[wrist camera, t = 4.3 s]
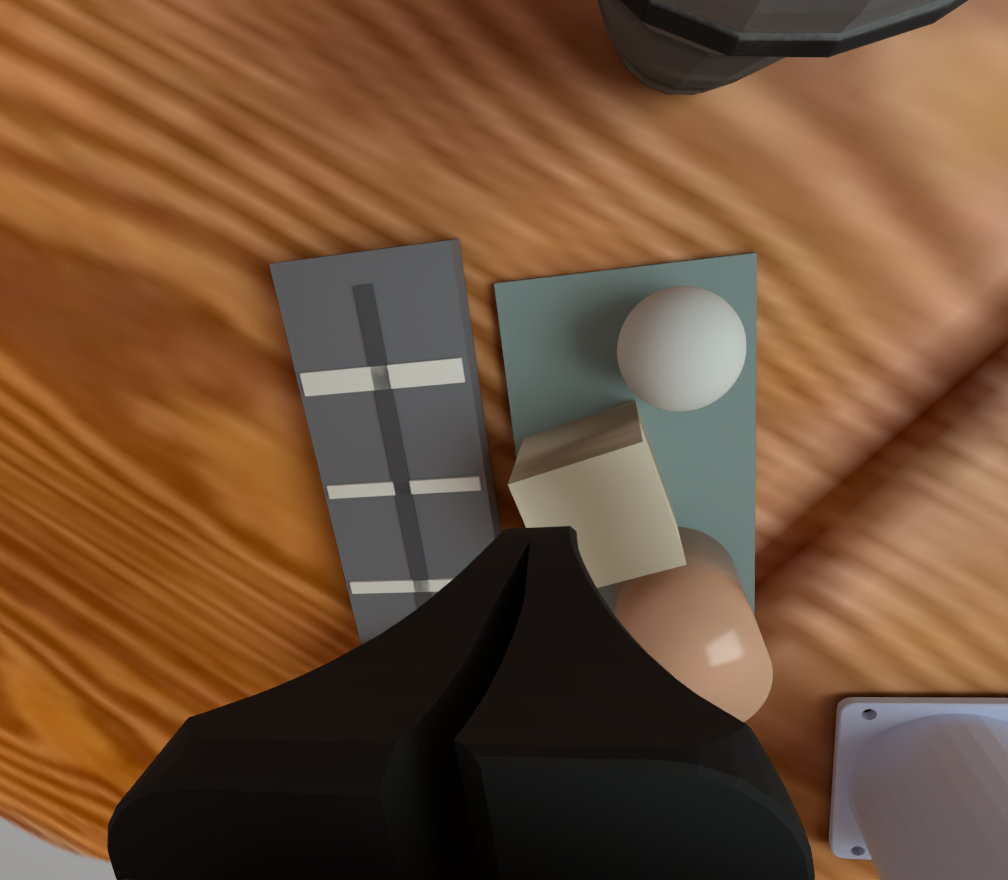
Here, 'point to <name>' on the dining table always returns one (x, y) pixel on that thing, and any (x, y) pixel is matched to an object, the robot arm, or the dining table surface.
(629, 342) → the grey ball
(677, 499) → the slate mat
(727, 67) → the beverage cup
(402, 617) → the board
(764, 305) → the dining table surface
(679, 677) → the peach domed cylinder
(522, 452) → the birch block
